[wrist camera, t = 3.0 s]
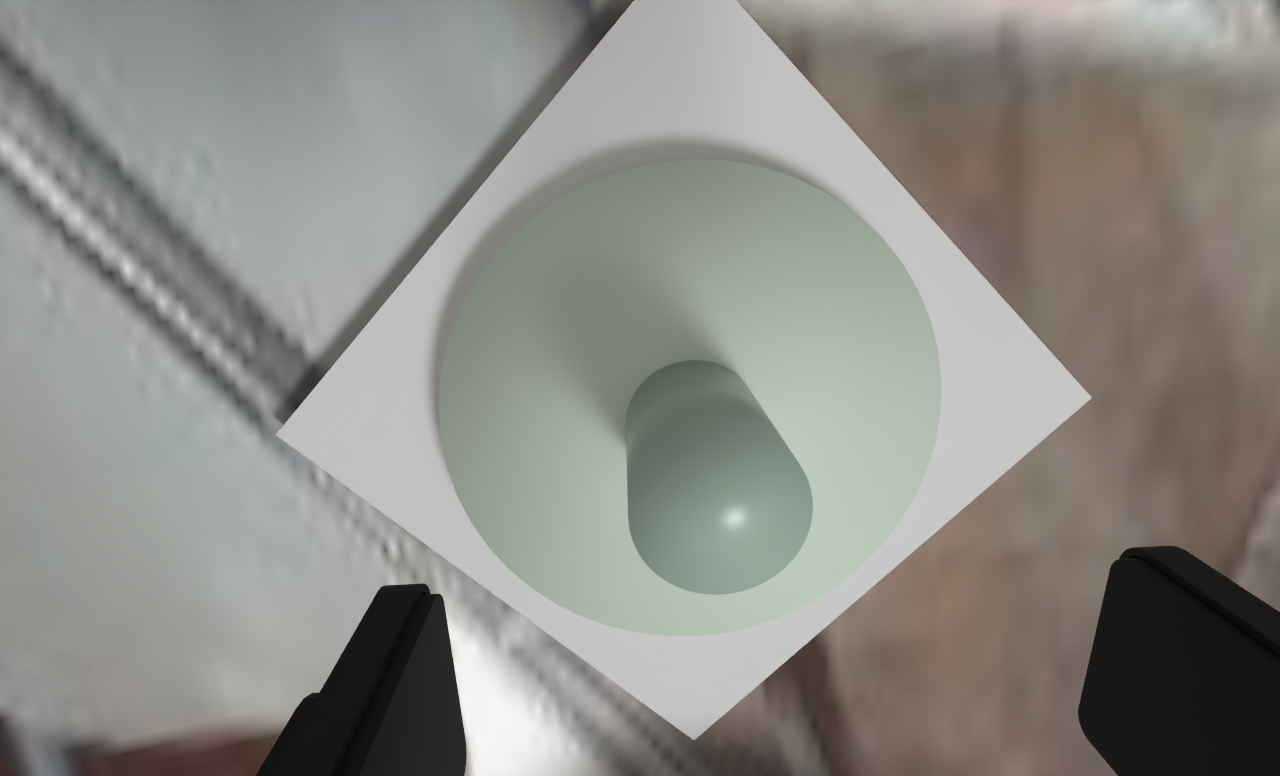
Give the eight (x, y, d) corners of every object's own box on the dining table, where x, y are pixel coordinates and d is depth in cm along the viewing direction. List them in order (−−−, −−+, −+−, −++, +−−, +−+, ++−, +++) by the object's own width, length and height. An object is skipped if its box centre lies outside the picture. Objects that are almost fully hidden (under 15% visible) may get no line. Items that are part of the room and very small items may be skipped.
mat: (692, 727, 24) (693, 740, 24) (285, 427, 20) (275, 434, 20) (1078, 392, 21) (1092, 397, 20) (680, -51, 17) (682, -60, 16)
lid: (694, 693, 23) (722, 875, 17) (346, 432, 20) (223, 540, 14) (1026, 399, 20) (1204, 489, 14) (682, 35, 17) (718, -56, 11)
